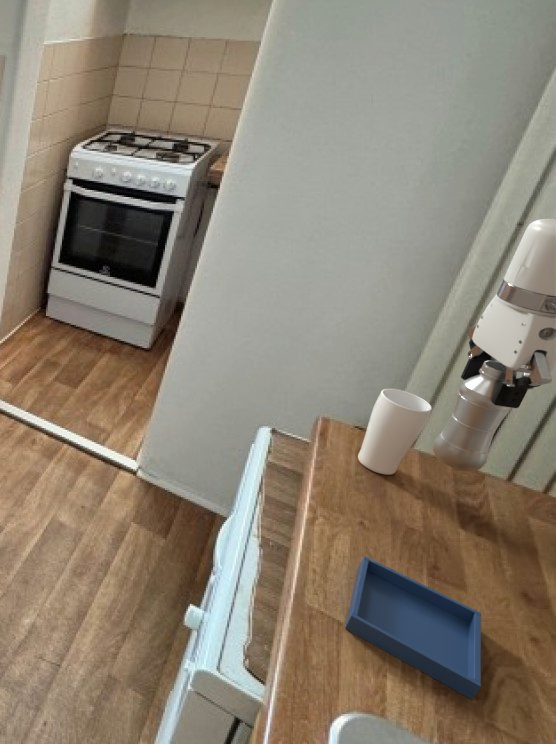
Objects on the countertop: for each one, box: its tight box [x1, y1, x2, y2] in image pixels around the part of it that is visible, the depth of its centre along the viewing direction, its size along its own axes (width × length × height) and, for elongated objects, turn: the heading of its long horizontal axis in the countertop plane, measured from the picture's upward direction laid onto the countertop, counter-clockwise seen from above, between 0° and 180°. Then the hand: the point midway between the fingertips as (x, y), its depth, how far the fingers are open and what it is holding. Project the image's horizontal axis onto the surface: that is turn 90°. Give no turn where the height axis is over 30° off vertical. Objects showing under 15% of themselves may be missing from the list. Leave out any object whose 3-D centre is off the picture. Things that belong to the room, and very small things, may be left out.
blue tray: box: [344, 555, 482, 700], centre depth 82 cm, size 14×12×3 cm
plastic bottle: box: [432, 360, 512, 473], centre depth 102 cm, size 6×7×20 cm
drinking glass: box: [357, 388, 433, 476], centre depth 108 cm, size 7×7×15 cm
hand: (488, 391), depth 100 cm, fingers closed on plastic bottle, 6 cm apart
